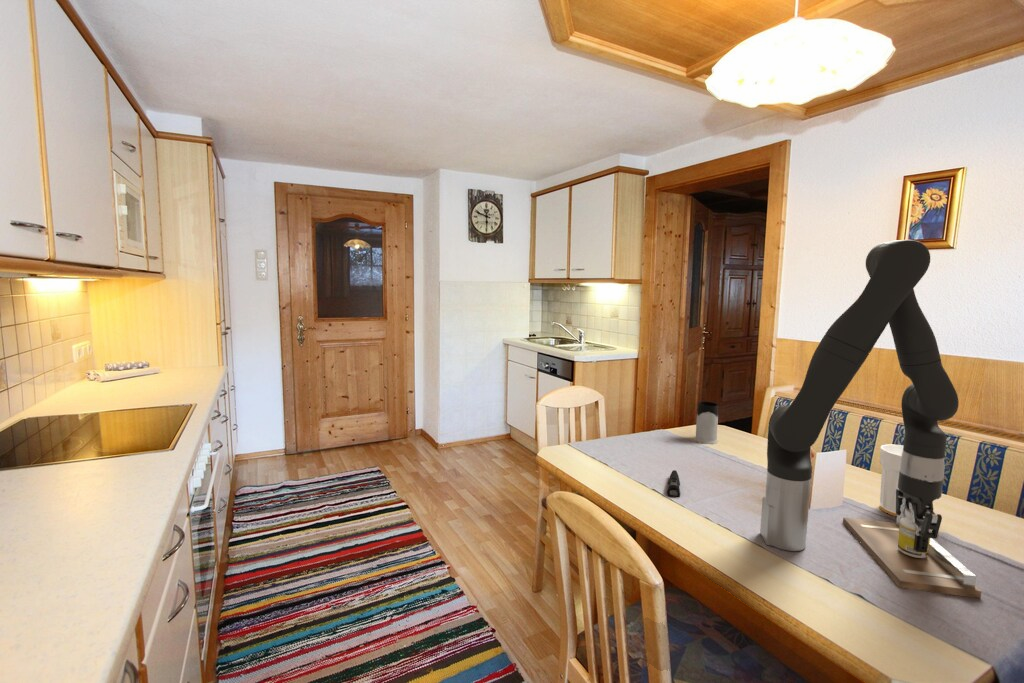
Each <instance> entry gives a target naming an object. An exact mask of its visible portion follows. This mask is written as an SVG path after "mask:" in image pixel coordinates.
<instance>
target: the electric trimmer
mask: <svg viewBox="0 0 1024 683" xmlns="http://www.w3.org/2000/svg"><path fill="white" fill-rule="evenodd" d="M667 482H668V483H667V484H668V487H667V491H666V494H667V496H668V497H670V498H675V497H679V498H680V496H681V490H680V486H681V482H680V476H679V473H678V472H677V470H675V469H674V470H672V471H671V473H670V475H669V477H668V481H667Z"/></svg>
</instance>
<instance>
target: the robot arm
mask: <svg viewBox="0 0 1024 683" xmlns="http://www.w3.org/2000/svg"><path fill="white" fill-rule="evenodd" d="M930 263H931V253H930V250H929V248H928V247H927V245H925V244H924V243H923V242H921V241H918V240H914V239H897V240H896V239H895V240H890V241H885V242H881V243H879V244H877V245H875V246H874V247H872V249H870V250H869V252H868V254H867V255H866V259H865V269H866V271H867V274H868V276H869V277H870V278H869V280H868V282H866V283H867V284H866V285H865V287H864V289H863V290H862V292H861V294H860V295H859V297H858V298H856V300H855V301H854V302H853V304H851V305H850V306H849V307H848V308H847V309H846V310H845V311H844V312H843V313H842V314H840V316H839V317H838V318H837V319H835V321H834V322H833V323H832V324H831V325H830V327H829V328H828V329H827V331H826V332H825V334H824V335H823V337H822V338H821V340H820V342H819V344H818V345H817V346H816V348H815V350H814V352H813V354H812V356H811V359H810V361H809V364H808V367H807V370H806V372H805V373H806V374H805V376H804V381H803V383H802V386H801V388H800V390H799V391H798V392H797V394H796V397H795V398H794V399H793V400H792V402H791V404H790V405H783V406H780V407H778V408H776V409H775V410H774V411H773V412H772V414H771V415H770V417H769V421H768V426H767V427H768V428H767V447H766V458H767V460H766V461H767V468H766V469H767V470H766V483H765V496H763V497H762V501H761V502H762V503H761V513H760V514H761V518H760V529H759V530H760V532H759V533H760V536H762V539H763V541H764V542H765V545H768V546H772V547H775V548H778V549H779V550H784V551H789V552H797V551H803V550H804V549H805V548H806V546H807V539H808V538H807V534H808V521H809V510H810V509H809V508H810V499H811V498H810V496H811V489H812V488H811V485H812V475H813V474H812V473H813V466H812V460H811V458H812V457H811V448H812V446H813V445H814V444H815V443H816V442H817V440H818V438H819V436H820V434H821V432H822V430H823V428H824V425H825V424H826V421H827V420H828V418H829V415H830V414H831V412H832V409H833V408H834V406H835V404H836V403H837V402H838V400H839V399H840V397H841V396H842V395H843V393H844V392H845V390H846V389H847V388H848V386H849V384H850V383H851V382H852V380H853V379H854V377H855V376H856V374H857V373H858V372H859V370H860V368H862V366H863V364H864V363H865V361H867V360H866V359H867V358H868V357H869V355H870V353H871V352H872V350H873V348H874V346H875V345H876V343H877V341H878V340H879V338H880V337H881V335H882V334H883V332H884V331H885V329H886V327H887V326H888V325H889V329H890V332H891V336H892V339H893V342H894V347H895V352H896V356H897V360H898V363H899V367H900V369H901V370H900V371H901V372H902V374H903V375H904V376H905V377H907V378H909V380H910V381H911V383H912V384H910V385H908V386H907V387H906V388H905V389H904V391H903V394H902V397H901V403H900V405H901V406H900V407H901V413H902V421H903V425H904V430H905V432H904V440H903V446H904V447H903V453H902V456H901V461H900V470H899V479H898V489H896V514H897V515H900V517H899V518H900V519H901V518H902V517H905V509H906V508H908V509H909V510H910V511H911V517H912V523H913V524H914V525H915V531H916V534H915V541H914V550H916V551H917V552H923V553H926V552H927V548H928V540H929V538H932V539H933V540H934V539H935V540H937V538H938V535H939V531H940V529H941V528H940V527H941V524H942V519H943V516H942V514H940V513H939V514H938V513H936V512H935V511H934V504H933V503H934V501H935V500H939V499H940V498H942V493H943V485H944V476H945V469H946V468H945V466H946V464H945V456H946V455H945V454H946V447H947V446H946V445H947V436H946V435H947V434H946V433H945V432H944V431H943V430H942V429H941V428H940V426H939V423H938V422H940V421H948V420H949V419H951V418H953V417H954V416H955V415H956V413H957V412H958V410H959V404H960V403H959V396H958V393H957V390H956V388H955V387H954V384H953V382H952V380H951V379H950V376H949V375H948V373H947V371H946V370H945V368H944V367H943V363H942V358H941V355H940V350H939V345H938V342H937V339H936V335H935V333H934V331H933V329H932V327H931V325H930V323H929V321H928V320H927V318H926V315H925V314H924V312H923V310H922V308H921V307H920V305H919V302H918V299H917V297H916V292H915V289H914V288H915V287H916V286H917V285H918V284H919V282H920V281H921V280H922V278H923V277H924V275H925V274H926V272H927V271H928V269H929V267H930ZM901 505H902V506H901ZM917 519H924V521H923V522H922V521H918V520H917ZM921 525H922V529H921V528H920V526H921Z"/></svg>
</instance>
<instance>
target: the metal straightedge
mask: <svg viewBox="0 0 1024 683" xmlns="http://www.w3.org/2000/svg"><path fill="white" fill-rule="evenodd" d="M899 517H900V516H899V515H897V517H896V522H895V523H896V525H897V526H898V527H900V518H899ZM928 554H929V555H930V556H931V557H932V558H933V559H934V560H935V561H936V562H937V563H938V564H939V565H941V566H942V567H943V568H944V569H945V570H946V571H947V572H948V573H949V574H950V575H952V576H953V577H954V578H955V579H956V580H957V581H958V582H959V583H960V584H961V585H962V586H964V587H972V588H975V586H976V583H977V578H978V577H977V575H976V574H975V573H973V572H972V571H971V570H970V569H968V568H967V567H966V566H965V565H964V564H962V562H961V561H959V560H958V559H957V558H956V557H954V555H952V554H951V553H950V552H948V550H946V548H944V547H943V546H941V544H939V543H938V542H937V541H936V539H935V540H934V539H933V538H930V543H929V552H928Z"/></svg>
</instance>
